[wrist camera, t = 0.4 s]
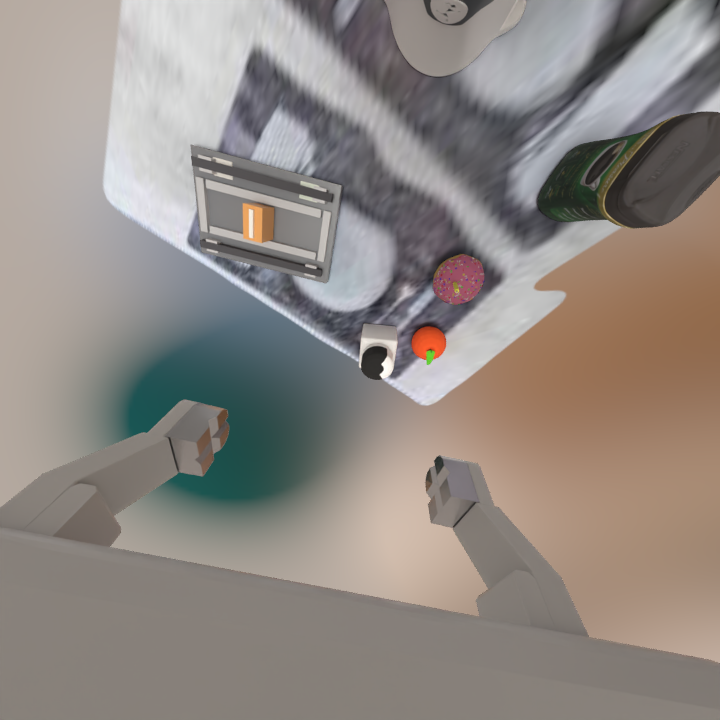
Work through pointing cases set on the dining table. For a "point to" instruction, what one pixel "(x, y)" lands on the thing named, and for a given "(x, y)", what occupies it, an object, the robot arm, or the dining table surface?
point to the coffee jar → (637, 174)
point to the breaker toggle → (258, 222)
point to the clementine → (428, 343)
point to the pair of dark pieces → (269, 182)
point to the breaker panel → (291, 214)
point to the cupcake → (458, 279)
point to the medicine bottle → (378, 350)
